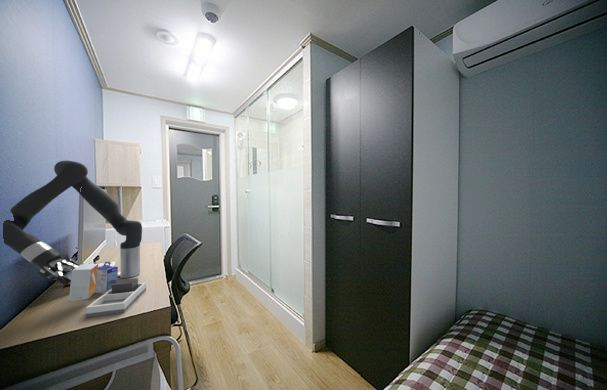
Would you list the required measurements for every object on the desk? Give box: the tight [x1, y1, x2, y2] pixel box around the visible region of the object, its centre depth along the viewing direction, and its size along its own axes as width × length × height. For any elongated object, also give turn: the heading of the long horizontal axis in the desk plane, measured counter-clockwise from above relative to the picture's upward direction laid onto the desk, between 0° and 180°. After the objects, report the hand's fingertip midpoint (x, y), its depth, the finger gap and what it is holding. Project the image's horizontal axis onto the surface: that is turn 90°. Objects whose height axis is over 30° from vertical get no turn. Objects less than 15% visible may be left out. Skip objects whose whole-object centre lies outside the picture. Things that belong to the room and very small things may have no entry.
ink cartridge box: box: [93, 261, 119, 295], centre depth 108 cm, size 10×6×14 cm, turn 78°
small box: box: [68, 263, 99, 302], centre depth 94 cm, size 8×6×13 cm
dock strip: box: [85, 277, 147, 318], centre depth 97 cm, size 21×13×8 cm, turn 16°
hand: (76, 278), depth 93 cm, fingers closed on small box, 8 cm apart
